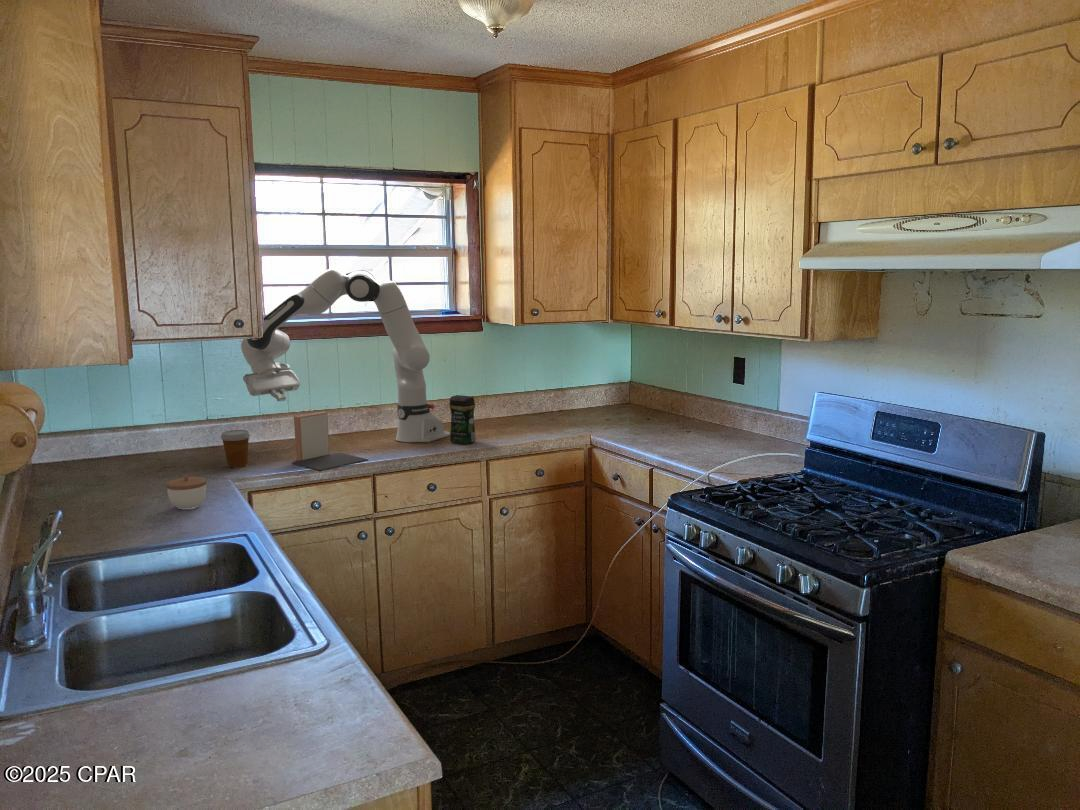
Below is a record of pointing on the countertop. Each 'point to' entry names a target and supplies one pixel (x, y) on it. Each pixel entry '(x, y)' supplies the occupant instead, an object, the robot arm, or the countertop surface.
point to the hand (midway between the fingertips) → (282, 400)
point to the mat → (329, 461)
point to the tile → (311, 435)
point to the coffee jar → (462, 419)
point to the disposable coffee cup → (236, 447)
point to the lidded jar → (186, 491)
